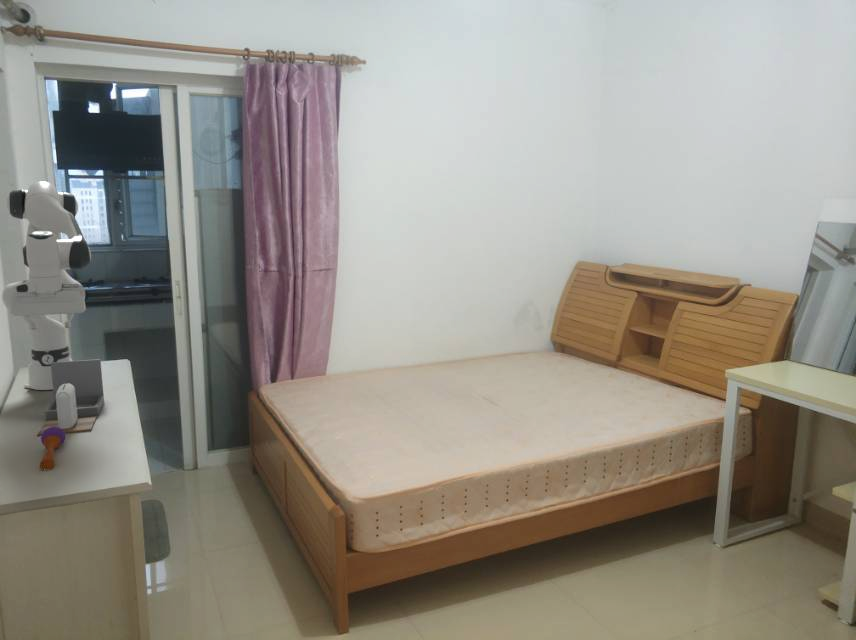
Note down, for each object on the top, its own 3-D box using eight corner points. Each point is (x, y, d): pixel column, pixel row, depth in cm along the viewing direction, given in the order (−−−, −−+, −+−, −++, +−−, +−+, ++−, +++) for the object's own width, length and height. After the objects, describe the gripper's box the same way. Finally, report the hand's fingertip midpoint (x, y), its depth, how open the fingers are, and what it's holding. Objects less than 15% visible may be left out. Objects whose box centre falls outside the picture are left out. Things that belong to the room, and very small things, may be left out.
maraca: (29, 458, 162) (39, 427, 179) (37, 478, 164) (46, 445, 181) (56, 450, 164) (62, 420, 181) (63, 471, 166) (69, 439, 183)
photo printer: (63, 419, 200) (59, 381, 197) (78, 418, 201) (75, 379, 199) (57, 430, 190) (53, 390, 188) (73, 428, 192) (69, 388, 189)
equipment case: (55, 406, 214) (51, 362, 211) (104, 401, 219) (100, 359, 216) (46, 420, 200) (41, 374, 197) (98, 415, 205) (94, 370, 202)
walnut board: (46, 422, 199) (46, 420, 199) (96, 417, 204) (96, 415, 204) (37, 436, 187) (37, 434, 187) (91, 430, 192) (90, 428, 192)
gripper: (85, 281, 205) (89, 324, 208) (11, 283, 198) (16, 327, 201) (82, 285, 199) (86, 328, 203) (5, 287, 193) (11, 332, 196)
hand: (51, 328), depth 202 cm, fingers open, 8 cm apart
